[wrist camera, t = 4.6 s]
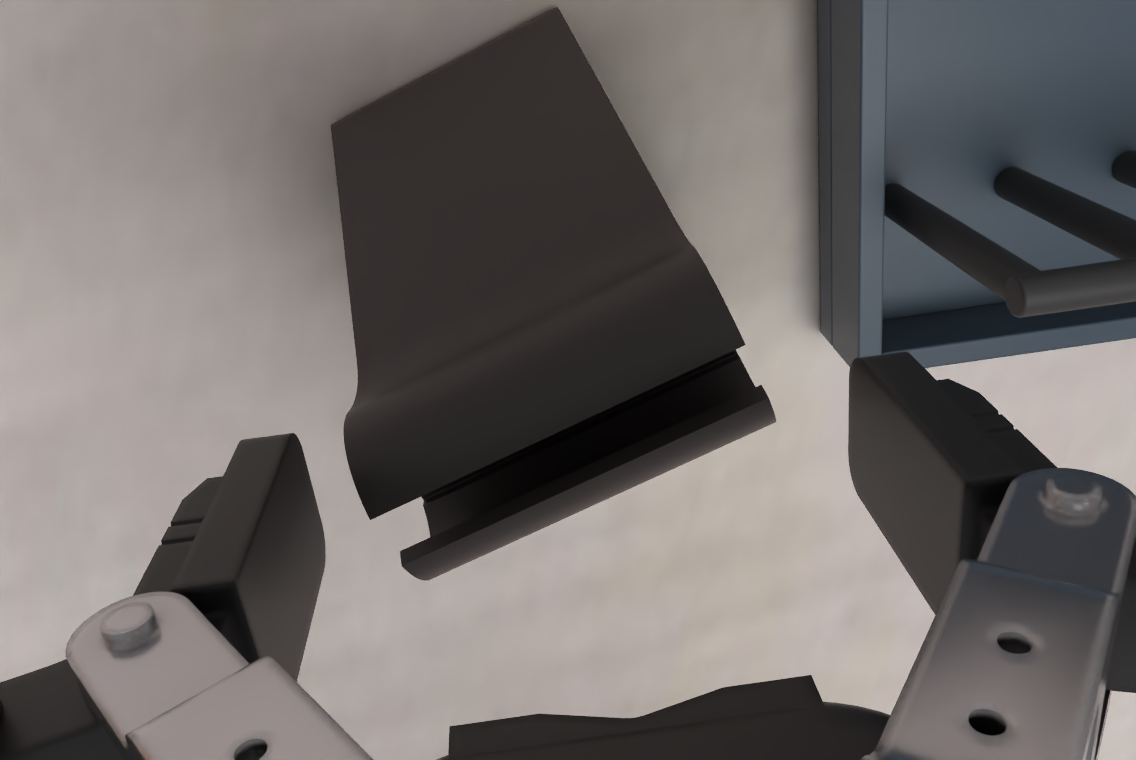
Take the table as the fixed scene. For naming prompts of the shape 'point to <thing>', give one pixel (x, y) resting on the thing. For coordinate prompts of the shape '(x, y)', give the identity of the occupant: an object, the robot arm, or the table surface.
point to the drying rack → (976, 176)
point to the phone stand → (521, 303)
